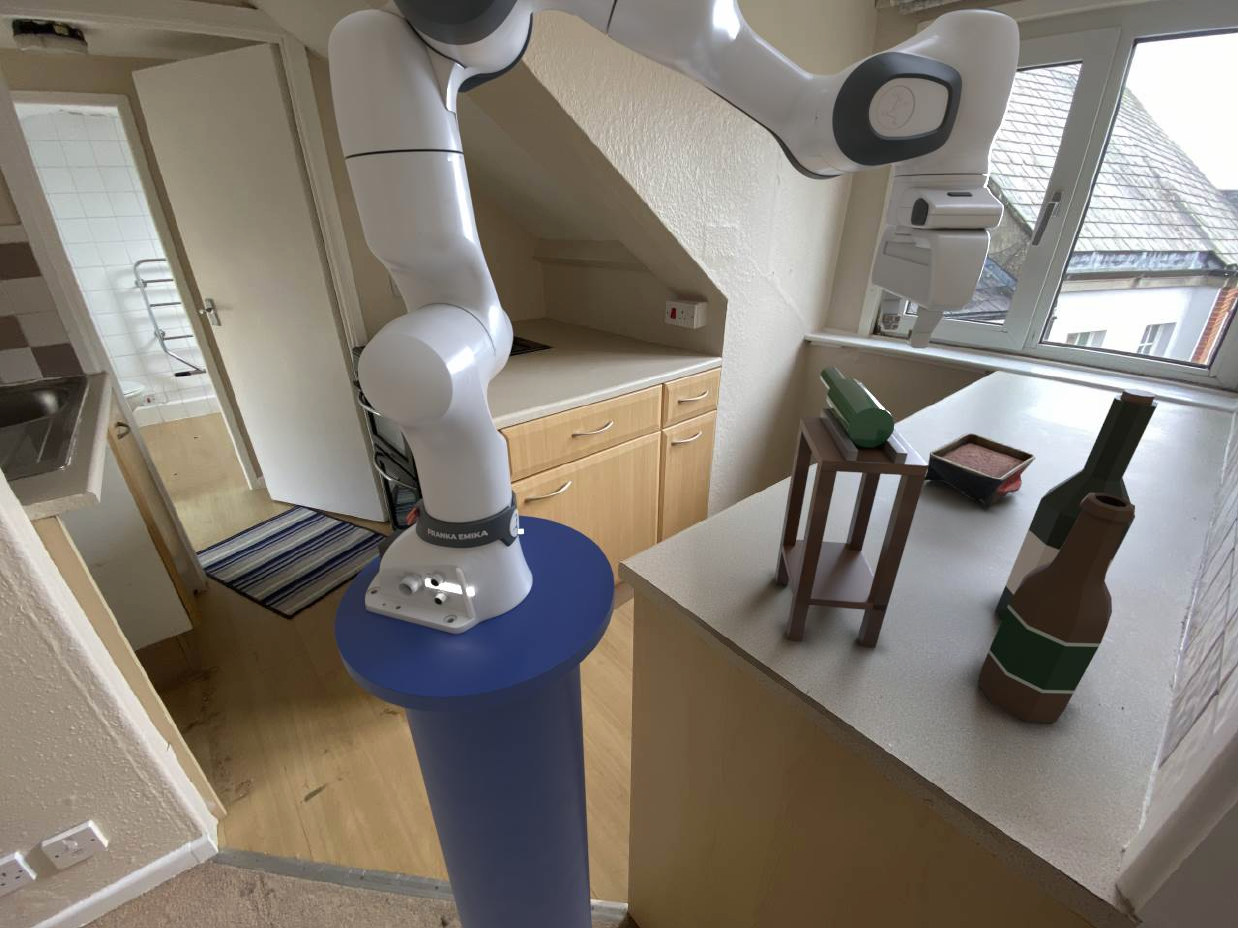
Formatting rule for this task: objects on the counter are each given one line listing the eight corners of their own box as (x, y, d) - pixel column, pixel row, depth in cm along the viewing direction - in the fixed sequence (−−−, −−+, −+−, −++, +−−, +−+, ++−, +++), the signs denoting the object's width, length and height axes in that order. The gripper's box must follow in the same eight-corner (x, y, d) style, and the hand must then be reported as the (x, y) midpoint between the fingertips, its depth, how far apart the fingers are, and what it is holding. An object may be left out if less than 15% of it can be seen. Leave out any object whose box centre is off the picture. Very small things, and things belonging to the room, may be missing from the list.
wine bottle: (1068, 611, 68) (1179, 387, 54) (1083, 656, 61) (1214, 412, 48) (991, 591, 71) (1078, 376, 58) (998, 632, 64) (1097, 398, 51)
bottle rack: (788, 639, 63) (824, 449, 52) (774, 576, 74) (802, 407, 63) (875, 647, 62) (932, 454, 51) (848, 582, 73) (890, 410, 62)
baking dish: (1031, 503, 96) (1050, 450, 93) (985, 517, 86) (1004, 459, 83) (949, 477, 107) (964, 429, 104) (901, 487, 98) (915, 435, 95)
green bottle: (889, 448, 54) (899, 408, 52) (844, 446, 55) (853, 406, 53) (843, 391, 71) (850, 359, 69) (809, 390, 71) (815, 358, 69)
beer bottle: (1052, 679, 58) (1150, 488, 47) (1073, 738, 52) (1192, 533, 41) (970, 657, 61) (1045, 472, 50) (980, 710, 54) (1069, 511, 44)
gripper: (871, 206, 66) (850, 319, 72) (940, 208, 48) (903, 358, 54) (925, 207, 65) (898, 320, 71) (1015, 208, 47) (969, 360, 53)
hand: (901, 337), depth 63 cm, fingers open, 8 cm apart
